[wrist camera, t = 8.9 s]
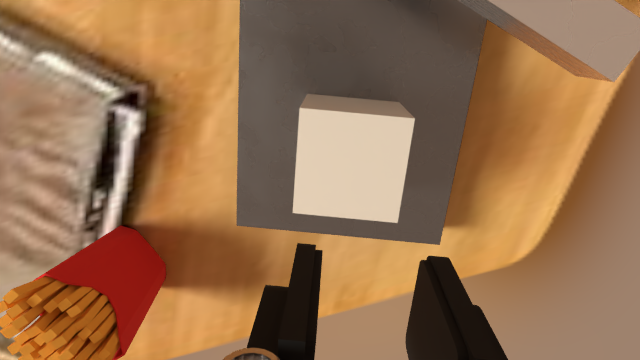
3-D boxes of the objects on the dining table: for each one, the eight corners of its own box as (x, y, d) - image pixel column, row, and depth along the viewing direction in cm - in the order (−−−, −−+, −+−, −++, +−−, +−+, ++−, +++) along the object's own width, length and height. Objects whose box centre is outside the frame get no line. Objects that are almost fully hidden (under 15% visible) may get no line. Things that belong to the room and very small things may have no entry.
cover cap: (307, 93, 28) (299, 107, 22) (399, 102, 28) (414, 118, 22) (300, 179, 30) (292, 213, 24) (386, 187, 30) (397, 223, 24)
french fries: (180, 279, 37) (111, 386, 26) (148, 298, 38) (67, 409, 26) (118, 207, 35) (12, 290, 23) (86, 229, 35) (-31, 318, 24)
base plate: (251, -89, 27) (241, -104, 24) (489, -68, 27) (508, -81, 24) (244, 209, 34) (236, 225, 31) (431, 227, 34) (439, 244, 31)
